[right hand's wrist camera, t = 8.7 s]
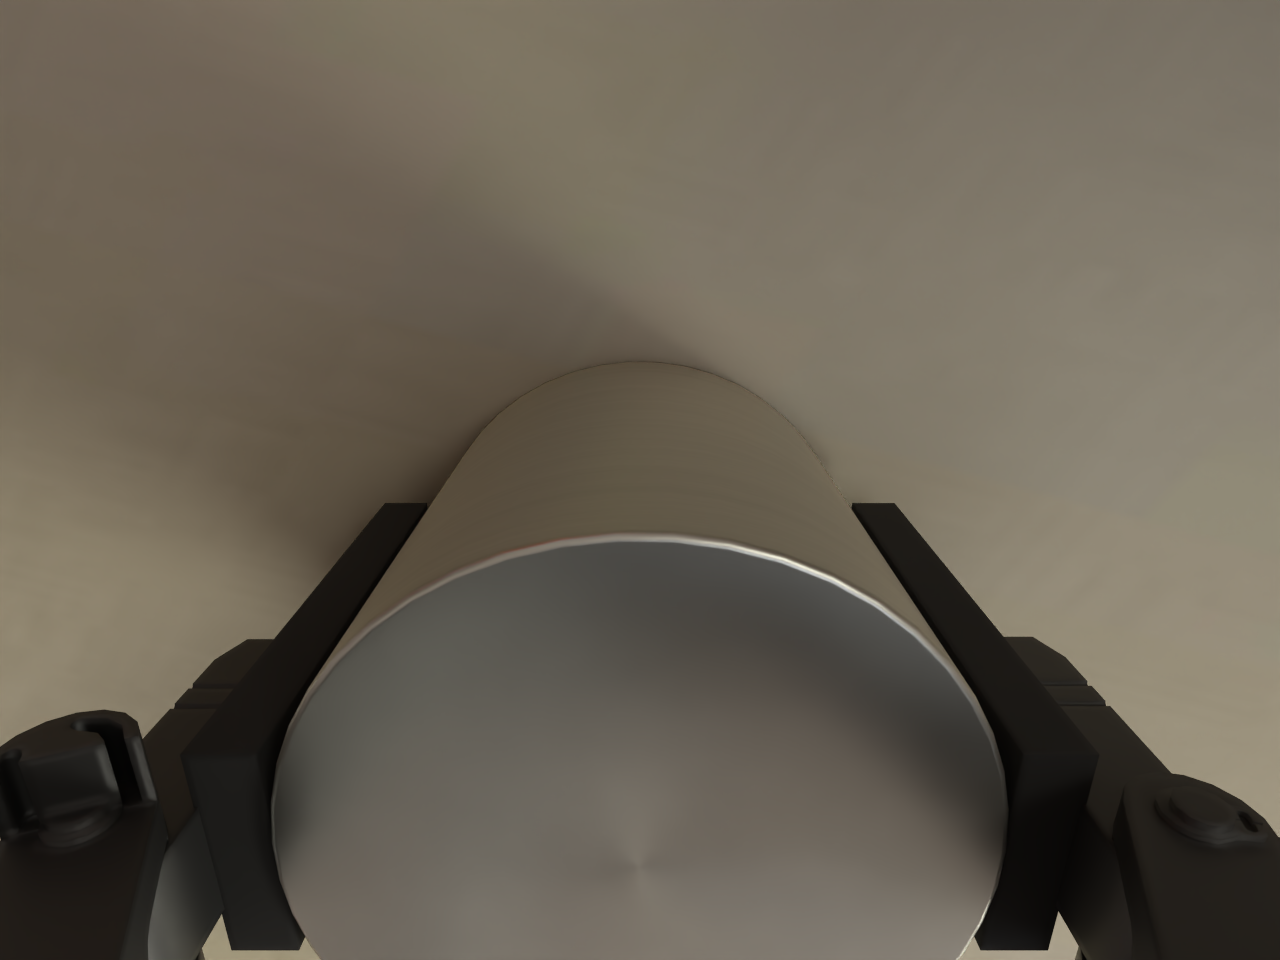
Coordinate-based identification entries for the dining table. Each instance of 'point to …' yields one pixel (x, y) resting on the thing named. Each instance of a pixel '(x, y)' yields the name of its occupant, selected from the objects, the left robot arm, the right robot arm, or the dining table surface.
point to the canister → (639, 710)
